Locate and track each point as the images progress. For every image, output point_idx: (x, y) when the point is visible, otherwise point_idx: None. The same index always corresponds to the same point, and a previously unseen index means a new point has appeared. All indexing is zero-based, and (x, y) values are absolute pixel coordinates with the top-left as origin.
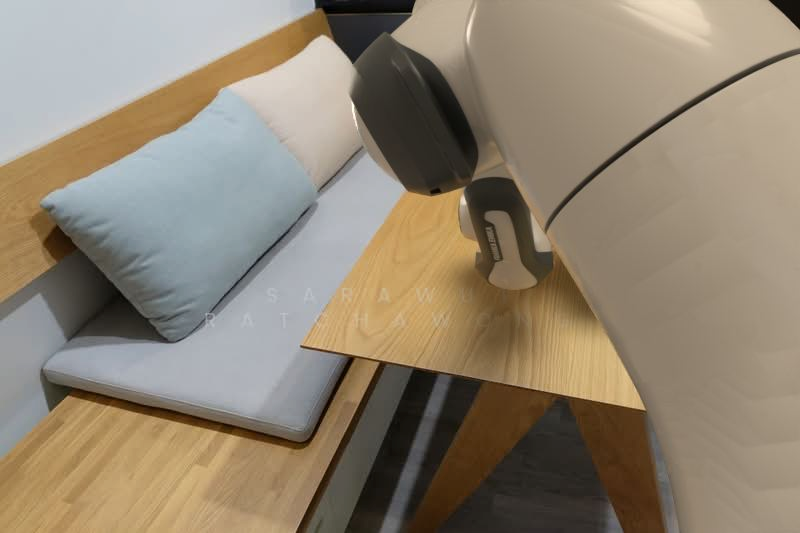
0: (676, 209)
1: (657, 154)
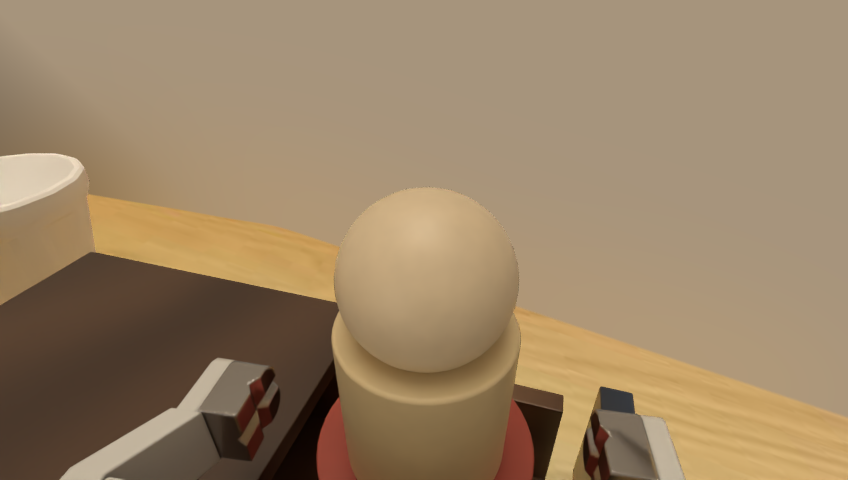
0: None
1: None
